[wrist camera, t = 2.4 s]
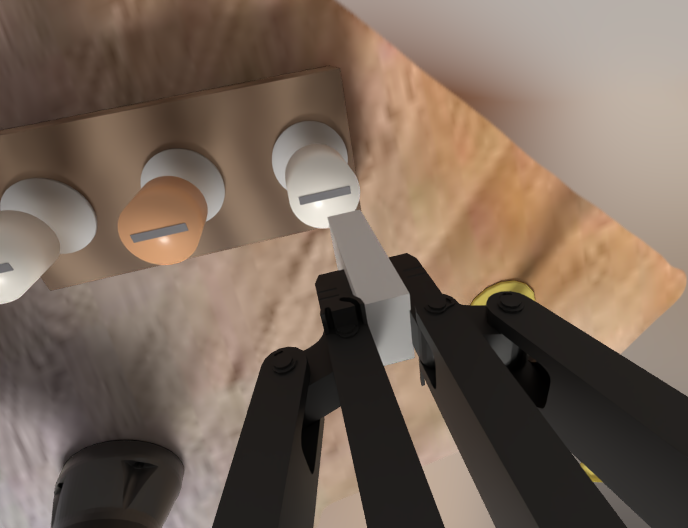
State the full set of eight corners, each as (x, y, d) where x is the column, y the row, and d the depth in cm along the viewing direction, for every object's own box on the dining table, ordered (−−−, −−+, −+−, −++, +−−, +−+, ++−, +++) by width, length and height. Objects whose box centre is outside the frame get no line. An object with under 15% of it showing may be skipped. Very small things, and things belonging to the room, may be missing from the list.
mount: (76, 261, 35) (48, 293, 30) (-8, 132, 28) (-60, 148, 24) (350, 198, 37) (363, 220, 32) (329, 65, 31) (341, 68, 26)
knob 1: (7, 276, 25) (-33, 312, 22) (-38, 218, 23) (-91, 249, 19) (73, 261, 25) (44, 294, 22) (35, 203, 23) (-4, 230, 20)
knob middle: (154, 243, 26) (138, 272, 22) (125, 183, 24) (102, 206, 20) (216, 228, 26) (210, 255, 23) (193, 169, 24) (182, 189, 20)
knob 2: (293, 211, 27) (297, 235, 23) (277, 151, 24) (280, 168, 21) (351, 198, 27) (364, 220, 24) (342, 137, 25) (354, 151, 21)
